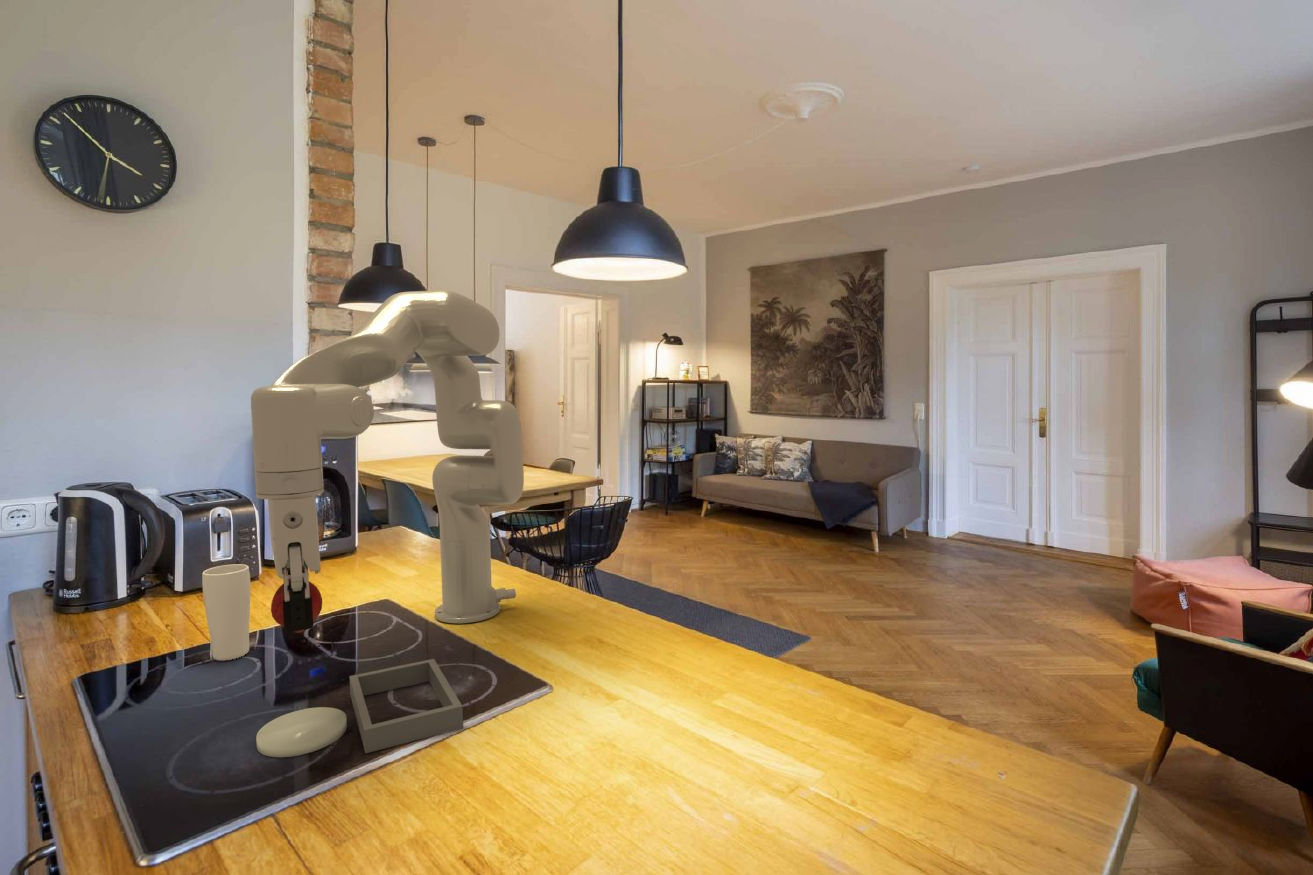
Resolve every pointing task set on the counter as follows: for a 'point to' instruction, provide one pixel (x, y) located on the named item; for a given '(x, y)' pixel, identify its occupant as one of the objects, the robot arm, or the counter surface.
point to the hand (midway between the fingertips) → (297, 620)
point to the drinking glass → (227, 609)
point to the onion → (279, 596)
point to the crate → (409, 725)
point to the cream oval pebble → (301, 732)
